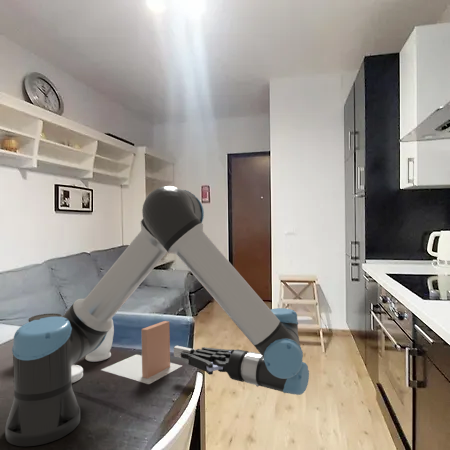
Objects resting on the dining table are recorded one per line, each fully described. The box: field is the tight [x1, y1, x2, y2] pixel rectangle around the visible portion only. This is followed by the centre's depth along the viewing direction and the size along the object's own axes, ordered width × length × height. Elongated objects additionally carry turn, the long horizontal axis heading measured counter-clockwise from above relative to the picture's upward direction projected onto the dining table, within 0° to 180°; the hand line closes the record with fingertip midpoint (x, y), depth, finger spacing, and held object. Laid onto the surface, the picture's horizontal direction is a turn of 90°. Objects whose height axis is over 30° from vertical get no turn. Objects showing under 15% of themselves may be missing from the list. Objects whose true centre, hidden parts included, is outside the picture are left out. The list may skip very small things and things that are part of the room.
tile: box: [140, 320, 171, 379], centre depth 110 cm, size 2×10×14 cm, turn 148°
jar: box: [84, 319, 115, 363], centre depth 125 cm, size 11×10×15 cm
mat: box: [100, 354, 183, 385], centre depth 113 cm, size 20×15×1 cm
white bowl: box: [71, 364, 84, 384], centre depth 106 cm, size 10×10×4 cm
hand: (175, 351), depth 106 cm, fingers closed
